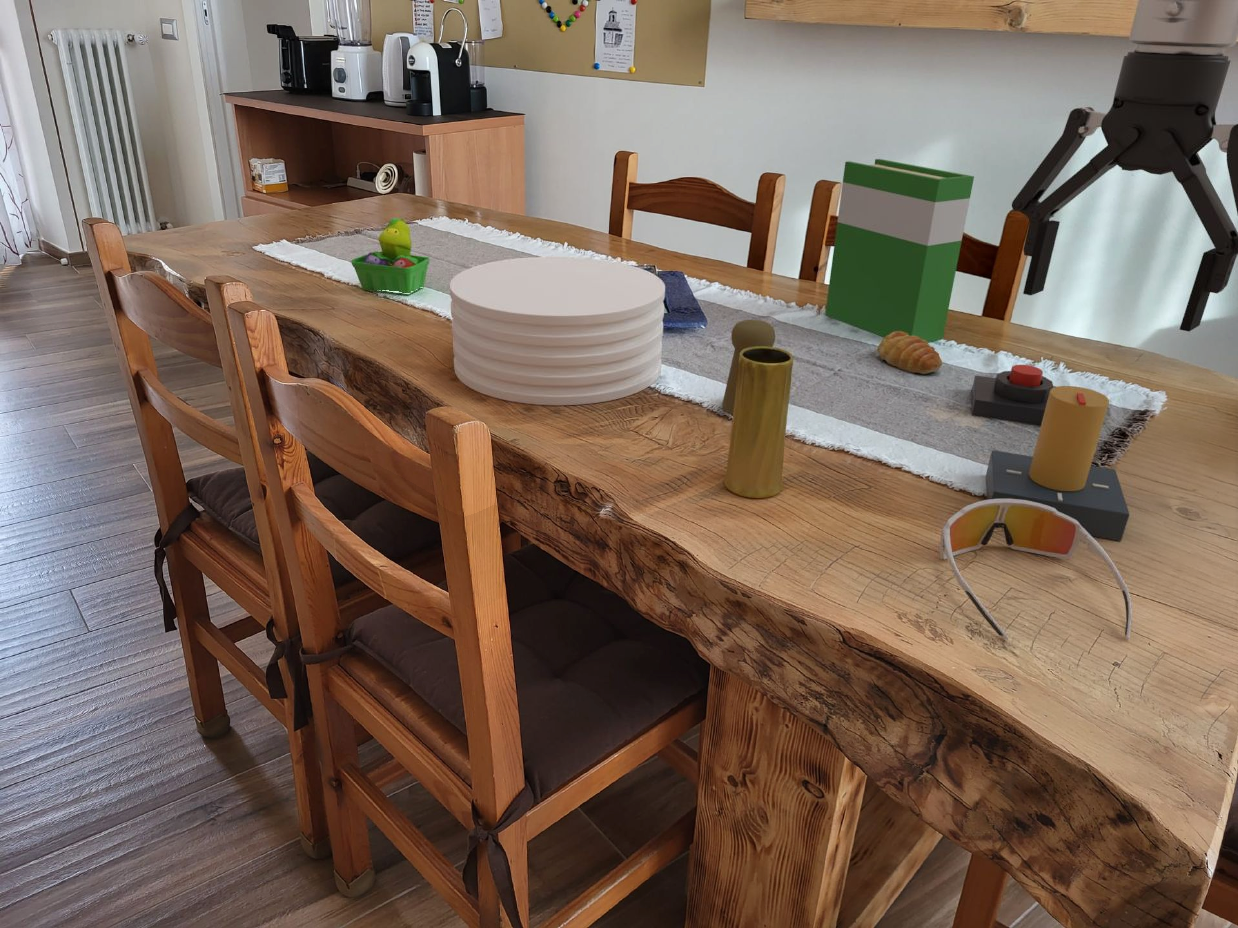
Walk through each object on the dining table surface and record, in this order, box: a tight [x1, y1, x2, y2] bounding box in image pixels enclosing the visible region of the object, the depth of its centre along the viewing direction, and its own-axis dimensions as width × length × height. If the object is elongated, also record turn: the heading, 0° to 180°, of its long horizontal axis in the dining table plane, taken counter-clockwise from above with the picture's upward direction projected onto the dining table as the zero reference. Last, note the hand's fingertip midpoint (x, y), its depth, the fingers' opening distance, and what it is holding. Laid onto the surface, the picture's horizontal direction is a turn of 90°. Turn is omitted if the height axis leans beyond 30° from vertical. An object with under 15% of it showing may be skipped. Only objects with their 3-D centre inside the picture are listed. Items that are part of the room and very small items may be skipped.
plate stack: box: [449, 256, 666, 406], centre depth 122 cm, size 28×28×12 cm
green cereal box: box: [824, 158, 975, 344], centre depth 139 cm, size 18×7×24 cm, turn 33°
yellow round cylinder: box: [1029, 385, 1110, 492], centre depth 89 cm, size 5×5×9 cm
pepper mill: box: [721, 319, 776, 416], centre depth 111 cm, size 6×6×11 cm
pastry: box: [877, 331, 943, 375], centre depth 128 cm, size 9×7×4 cm
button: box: [1009, 364, 1044, 386], centre depth 113 cm, size 4×4×2 cm
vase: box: [723, 346, 795, 499], centre depth 91 cm, size 6×6×14 cm
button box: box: [971, 370, 1057, 427], centre depth 114 cm, size 11×9×4 cm
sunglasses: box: [939, 499, 1133, 641], centre depth 78 cm, size 14×15×5 cm
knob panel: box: [985, 449, 1130, 542], centre depth 92 cm, size 12×10×3 cm
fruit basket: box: [350, 217, 431, 296], centre depth 153 cm, size 11×9×11 cm
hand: (1107, 309), depth 82 cm, fingers open, 13 cm apart
